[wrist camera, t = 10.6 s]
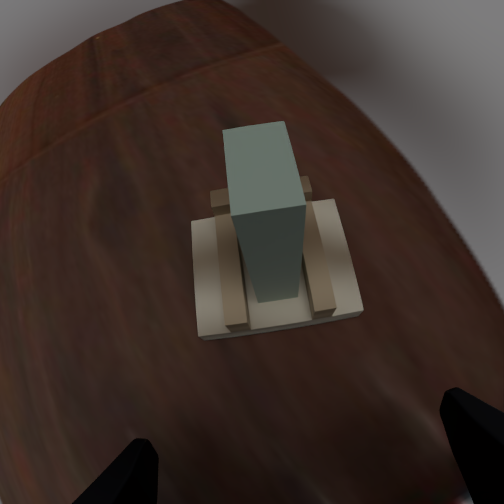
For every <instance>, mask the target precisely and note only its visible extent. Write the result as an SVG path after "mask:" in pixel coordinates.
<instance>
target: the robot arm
mask: <svg viewBox="0 0 504 504" xmlns="http://www.w3.org/2000/svg"><path fill="white" fill-rule="evenodd" d="M440 416H441V419H442V422H443V425H444V428H445V431H446V434H447V437H448V440H449V444H450V447H451V450H452V452H453V455H454V457H455V460H456V462H457V464H458V466H459V469H460V471H461V473H462V476H463V478H464V481H465V483H466V485H467V488H468V490H469V493H470V495H471V498H472V500H473V503H474V504H504V413H503V412H501V411H500V410H498V409H496V408H494V407H492V406H491V405H489V404H487V403H485V402H483V401H482V400H480V399H478V398H476V397H474V396H473V395H471V394H469V393H467V392H465V391H464V390H462V389H460V388H458V387H455V388H452V389H449V390H447V391H446V392H445V393H444V396H443V399H442V402H441V405H440ZM158 463H159V458H158V454H157V452H156V451H155V449H154V447H153V446H152V444H151V443H150V441H149V440H148V439H142V438H136V439H134V440H133V441H132V442H131V443H130V444H129V445H128V446H127V447H126V448H125V449H124V450H123V451H122V453H121V454H120V455H119V456H118V457H117V458H116V459H115V460H114V461H113V462H112V463H111V464H110V465H109V466H108V467H107V468H106V469H105V470H104V471H103V472H102V473H101V475H100V476H99V477H98V478H97V479H96V480H95V481H94V482H93V483H92V484H91V485H90V486H89V487H88V488H87V489H86V490H85V491H84V492H83V493H82V494H81V495H80V496H79V497H78V498H77V499H76V500H75V501H74V502H73V503H72V504H157V492H158Z"/></svg>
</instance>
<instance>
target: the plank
mask: <svg viewBox="0 0 504 504" xmlns="http://www.w3.org/2000/svg"><path fill="white" fill-rule="evenodd" d="M223 138H224V149H225V160H226V170H227V180H228V191H229V201H230V211H231V217H232V221H233V224H234V227H235V230H236V234H237V237H238V240H239V243H240V247H241V250H242V253H243V256H244V260H245V263H246V266H247V269H248V272H249V276H250V279H251V282H252V285H253V288H254V292H255V295H256V298H257V301H258V303H263V302H270V301H277V300H283V299H290V298H296V297H298V292H299V282H300V272H301V262H302V252H303V241H304V229H305V217H306V201H305V197H304V193H303V189H302V185H301V181H300V177H299V173H298V170H297V166H296V162H295V158H294V155H293V151H292V147H291V144H290V140H289V137H288V133H287V130H286V126H285V123H284V121H281V122H273V123H265V124H258V125H252V126H245V127H239V128H233V129H227V130H223Z"/></svg>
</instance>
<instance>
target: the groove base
mask: <svg viewBox="0 0 504 504" xmlns="http://www.w3.org/2000/svg"><path fill="white" fill-rule="evenodd" d="M300 181H301V185H302V189H303V193H304V197H305V201H306V217H305V229H304V241H303V252H302V262H301V272H300V282H299V292H298V297H296V298H290V299H283V300H277V301H270V302H263V303H258V301H257V298H256V295H255V292H254V288H253V285H252V282H251V279H250V276H249V272H248V269H247V266H246V263H245V260H244V256H243V253H242V250H241V247H240V243H239V240H238V237H237V234H236V230H235V227H234V224H233V221H232V217H231V211H230V201H229V191H228V188H225V189H220V190H214V191H210V195H211V208H212V210H213V213H214V215H215V217H213V218H207V219H202V220H196V221H191V225H192V249H193V268H194V285H195V300H196V314H197V327H198V337H200V338H201V339H203V340H212V339H221V338H229V337H237V336H244V335H251V334H258V333H265V332H272V331H278V330H284V329H291V328H297V327H303V326H308V325H314V324H320V323H325V322H330V321H336V320H341V319H346V318H351V317H356V316H359V315H360V314H361V312H362V311H363V305H362V301H361V297H360V293H359V288H358V284H357V280H356V276H355V272H354V268H353V265H352V261H351V257H350V253H349V249H348V246H347V242H346V239H345V235H344V231H343V228H342V225H341V221H340V218H339V214H338V211H337V208H336V204H335V201H334V199H329V200H321V201H314V202H312V201H311V199H312V189H311V185H310V182H309V178H308V176H302V177H300Z"/></svg>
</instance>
